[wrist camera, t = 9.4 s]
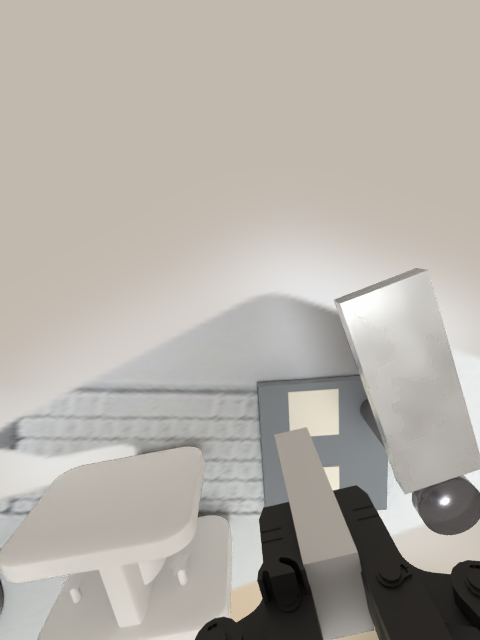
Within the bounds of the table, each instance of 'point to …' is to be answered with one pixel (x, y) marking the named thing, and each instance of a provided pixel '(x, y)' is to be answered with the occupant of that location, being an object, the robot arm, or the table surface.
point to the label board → (324, 434)
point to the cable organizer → (127, 550)
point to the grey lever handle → (415, 396)
